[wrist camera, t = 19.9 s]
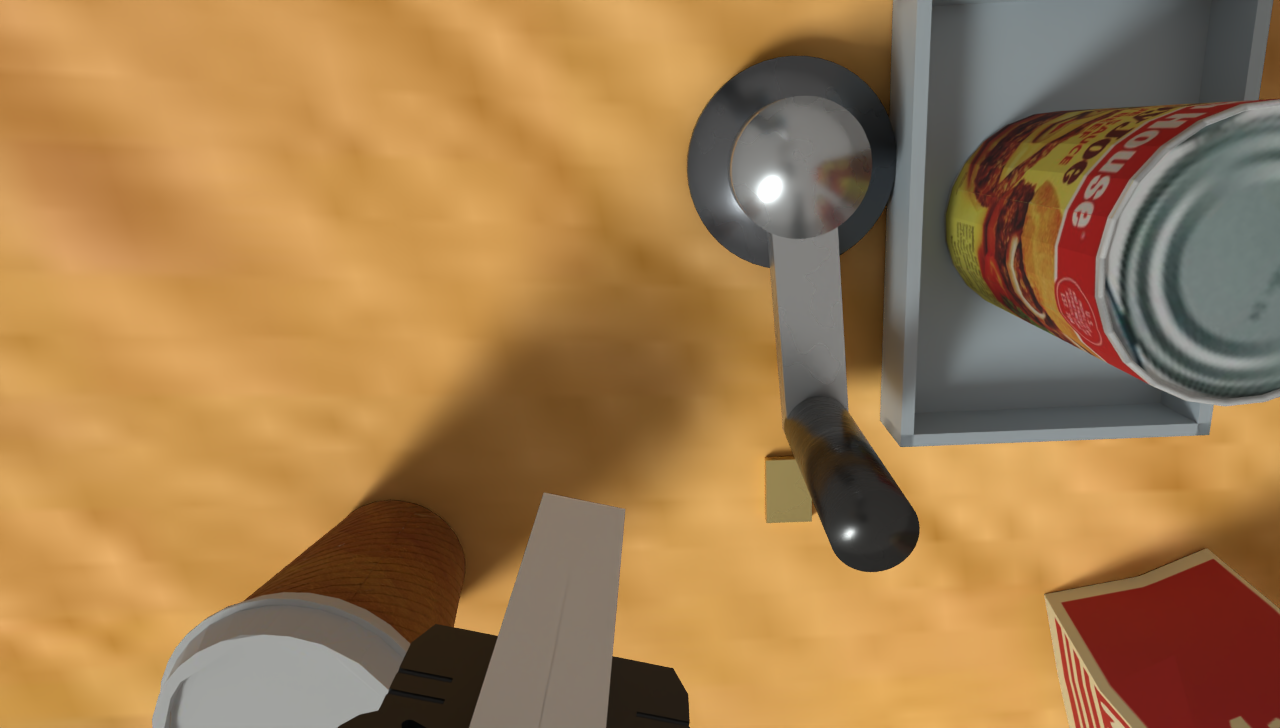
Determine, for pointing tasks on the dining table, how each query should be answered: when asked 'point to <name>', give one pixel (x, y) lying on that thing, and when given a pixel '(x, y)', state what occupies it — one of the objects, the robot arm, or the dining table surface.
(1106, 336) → the canned food
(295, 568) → the disposable coffee cup
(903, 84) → the tray
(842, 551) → the crank
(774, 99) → the crank base
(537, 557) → the robot arm
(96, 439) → the dining table surface
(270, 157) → the dining table surface
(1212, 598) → the milk carton
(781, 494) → the beige flat block
